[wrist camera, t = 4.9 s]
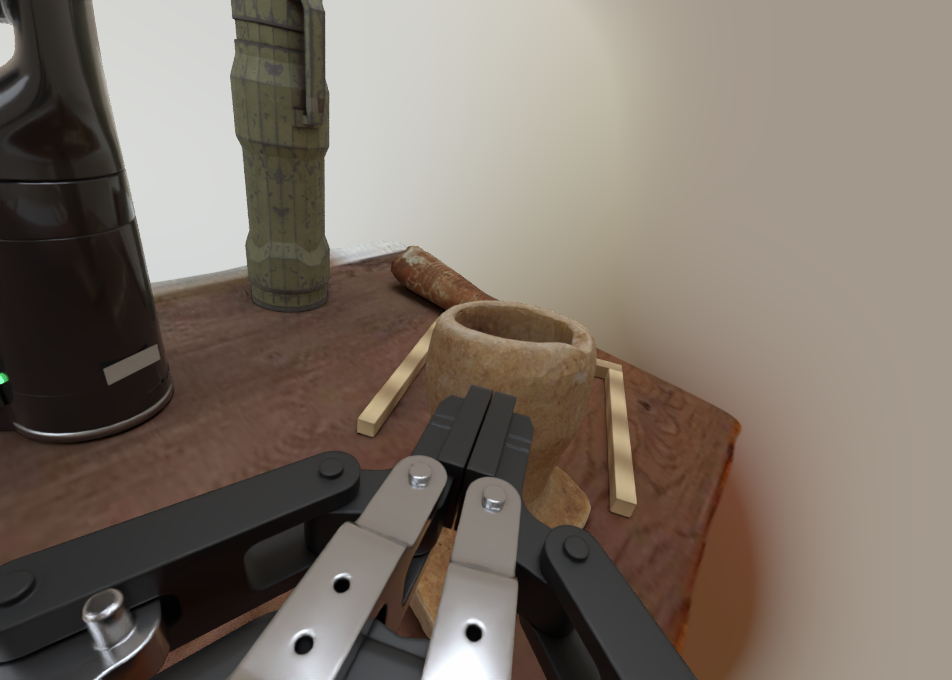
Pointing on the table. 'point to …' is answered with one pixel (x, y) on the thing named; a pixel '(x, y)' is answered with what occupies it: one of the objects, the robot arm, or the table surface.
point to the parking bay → (615, 416)
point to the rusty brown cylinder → (434, 279)
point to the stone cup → (538, 396)
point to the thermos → (283, 148)
